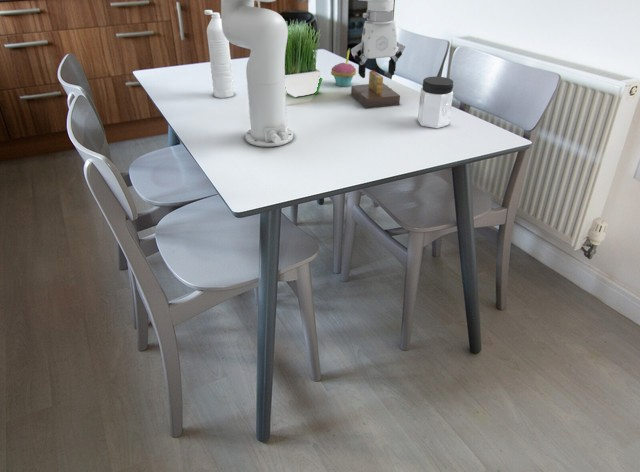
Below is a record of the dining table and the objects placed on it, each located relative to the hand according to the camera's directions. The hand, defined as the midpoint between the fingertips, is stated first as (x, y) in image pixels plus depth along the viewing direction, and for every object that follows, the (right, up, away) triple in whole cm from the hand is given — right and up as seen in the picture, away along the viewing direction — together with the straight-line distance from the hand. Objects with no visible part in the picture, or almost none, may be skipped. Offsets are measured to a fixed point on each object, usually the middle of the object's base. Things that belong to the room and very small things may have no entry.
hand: (376, 75), depth 156 cm
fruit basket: (-23, -4, +9) cm, 25 cm away
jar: (+14, -18, -13) cm, 27 cm away
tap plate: (0, -7, +4) cm, 8 cm away
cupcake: (-10, +2, +18) cm, 20 cm away
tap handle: (0, -4, +2) cm, 5 cm away
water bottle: (-50, -4, +9) cm, 51 cm away
